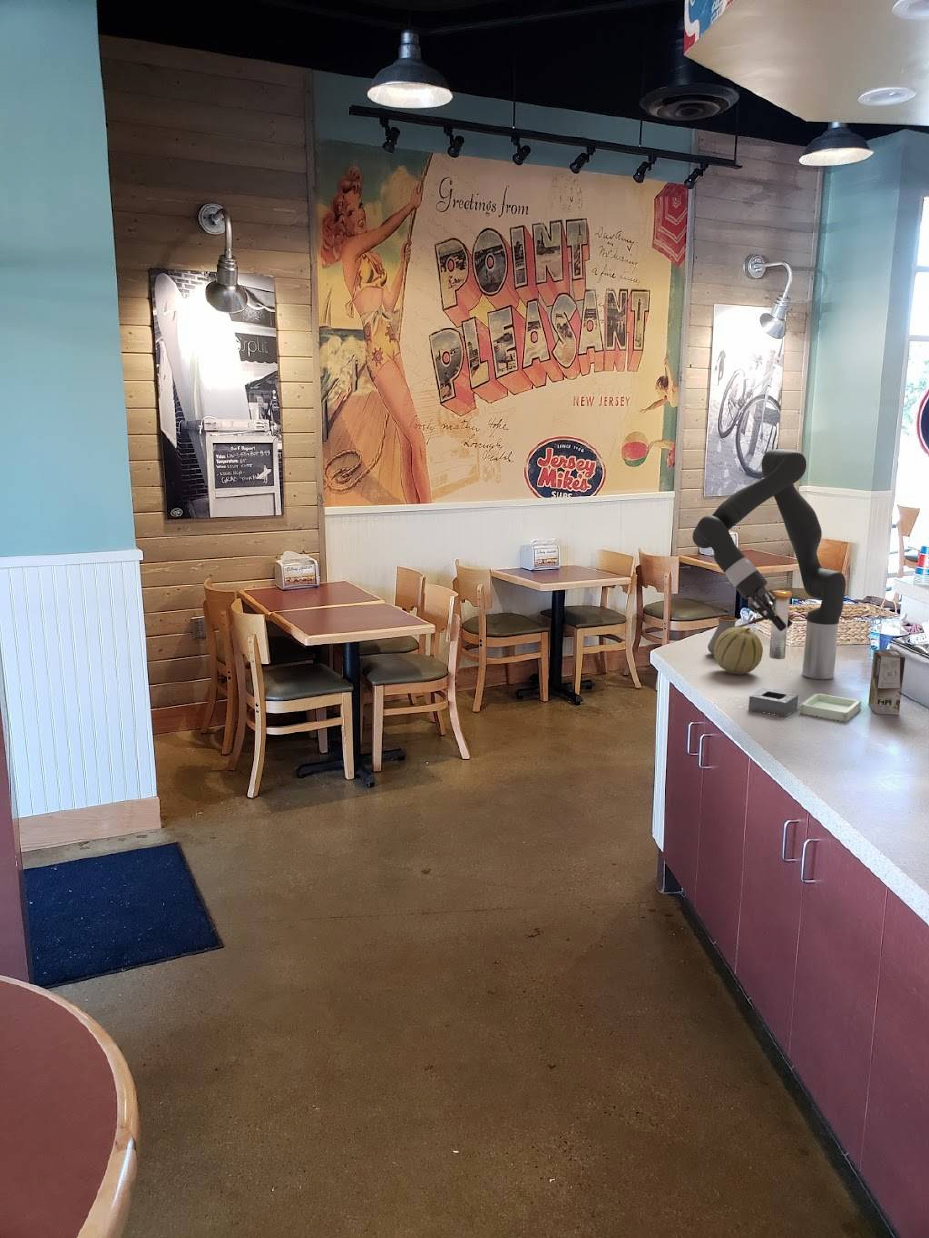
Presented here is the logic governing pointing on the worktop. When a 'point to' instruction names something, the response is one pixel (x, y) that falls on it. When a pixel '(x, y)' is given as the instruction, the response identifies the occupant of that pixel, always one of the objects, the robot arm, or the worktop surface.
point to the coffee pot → (724, 625)
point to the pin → (782, 610)
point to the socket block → (773, 702)
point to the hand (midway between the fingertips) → (786, 627)
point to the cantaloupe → (738, 650)
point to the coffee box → (886, 681)
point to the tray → (830, 707)
